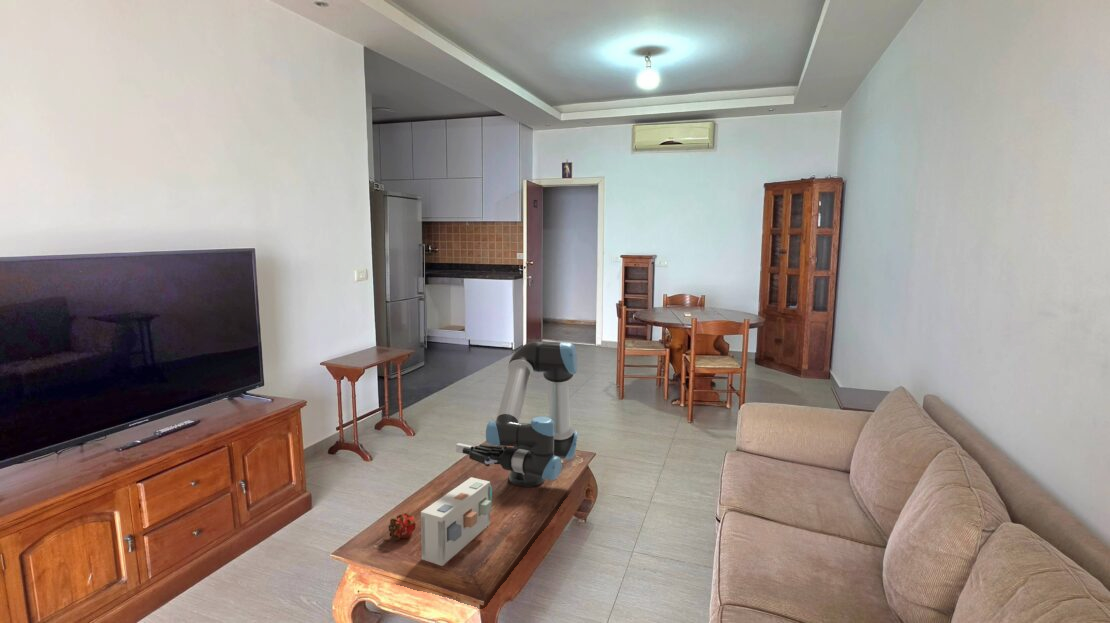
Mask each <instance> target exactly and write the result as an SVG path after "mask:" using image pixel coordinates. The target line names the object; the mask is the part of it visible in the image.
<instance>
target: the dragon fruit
mask: <svg viewBox="0 0 1110 623" xmlns="http://www.w3.org/2000/svg"><path fill="white" fill-rule="evenodd" d="M415 519H416V518H415V515H413V514H409V513H408V512H405V513H402V514H398V515H396V518H391V519H390V520H389V521H390V523H389V525H388V532H389V533H388V534H389V536H390V537H394V540H399V541H400V540H401V541H402V539H403V538H404V539H405V538H406V539H407V538H408V539H410V538H411V537H412V536H411V534H412V533H413V532H414V531H415V529H416V526H417V523H416V520H415Z"/></svg>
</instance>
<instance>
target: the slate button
mask: <svg viewBox="0 0 1110 623" xmlns="http://www.w3.org/2000/svg"><path fill="white" fill-rule="evenodd" d="M461 536H462V528H461V525H459V524H456V523H452V524H451V525H450V526H448V527H447V539H449V540H452V541H456V540H457V539H458V538H460V537H461Z"/></svg>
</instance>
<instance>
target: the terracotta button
mask: <svg viewBox="0 0 1110 623" xmlns="http://www.w3.org/2000/svg"><path fill="white" fill-rule="evenodd" d="M476 523H477V512H473V511H467V512H466V513H465V514H464V515H463V526H466V527H470V528H471V527H473V526H474V525H475V524H476Z"/></svg>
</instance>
